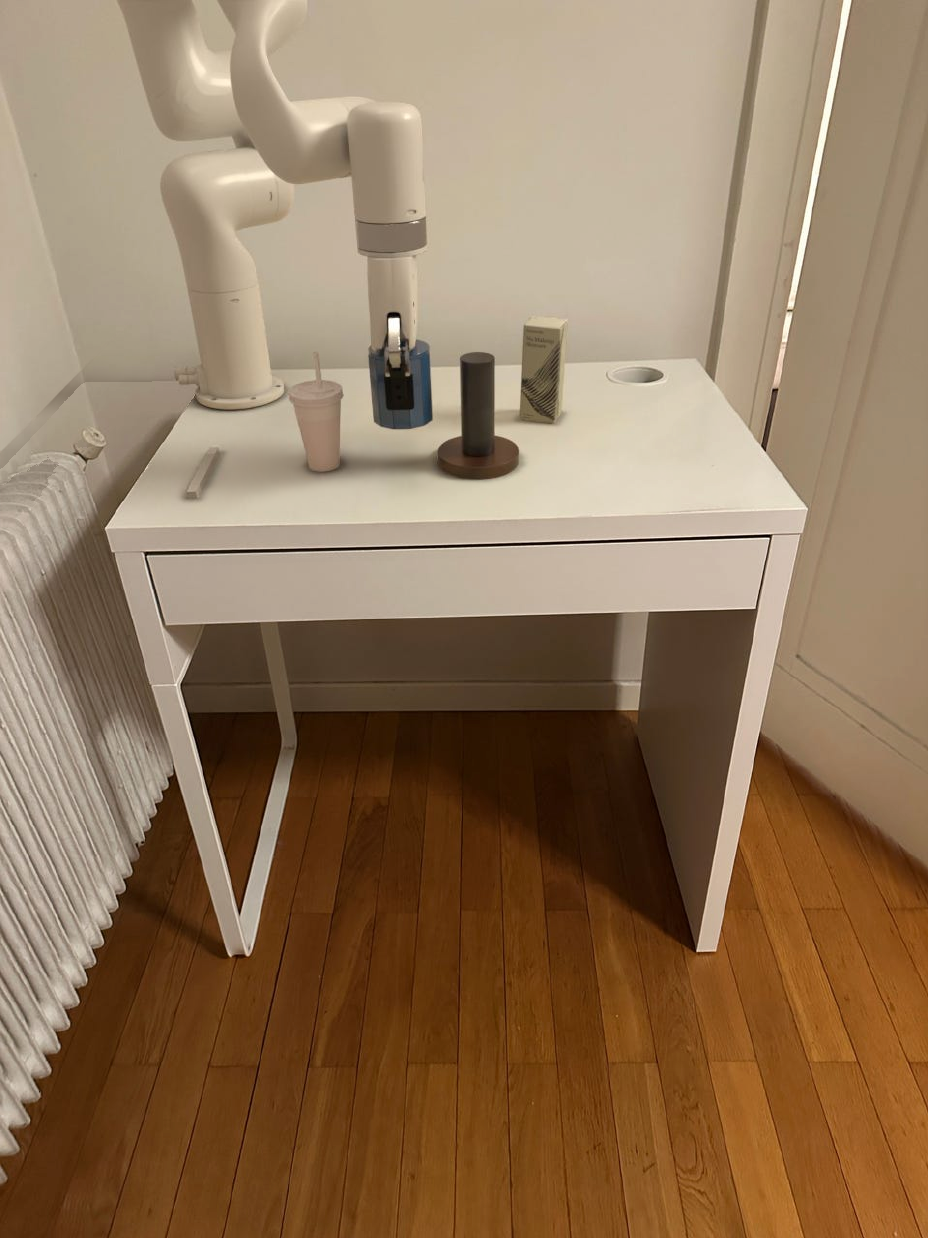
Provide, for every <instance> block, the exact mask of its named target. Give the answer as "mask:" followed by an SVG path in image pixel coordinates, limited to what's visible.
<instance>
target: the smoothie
mask: <svg viewBox="0 0 928 1238" xmlns="http://www.w3.org/2000/svg"><path fill="white" fill-rule="evenodd" d="M312 354H313V360H314V361H313V362H314V371H315V379H316V380H307V381H302V382H299V383H297V384H295V385H292V386H291V387H290V388H289V389H288V401H289V402H290V403H291V404H292V406H293V409H294V410H293V411H294V413H295V418H296V421H297V425H298V430H299V433H300V437H301V441H302V444H303V449H304V452H305V455H306V460H307V463H308V467H309V469H310V470H312V471H314V472H323V473H324V472H330V471H333V470H336V469H337V468H339V467H340V458H341V457H340V452H341V419H342V418H341V415H342V400H343V398H344V396H345V395H344V391H343V386H342V385H341V384H340V383H338V382H336V381H332V380H326V379H325V380H324V379H322V373H321V363H320V357H319V352H318V351H314V352H313V353H312Z"/></svg>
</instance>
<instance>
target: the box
mask: <svg viewBox="0 0 928 1238" xmlns="http://www.w3.org/2000/svg"><path fill="white" fill-rule="evenodd" d="M568 326H569V320H568V319H566V318H558V317H549V316H537V315H536V316H535V315H531V316H530V317H529V318H528V319H527V320H526V321H525V322H524V324H523V330H522V349H521V350H522V351H521V353H522V354H521V376H520V400H519V419H520V420H522V421H523V420H524V421H532V422H537V423H539V422H540V423H544V424H545V423H547V424H555V422H557V420H558V419H559V418H560V416H561V414H562V409H563V395H564V394H563V393H564V382H565V381H564V380H565V366H566V354H567V353H566V352H567V340H568V338H567V337H568V328H569V327H568Z"/></svg>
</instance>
